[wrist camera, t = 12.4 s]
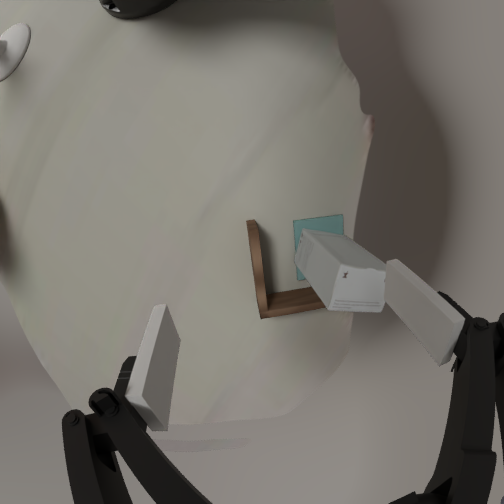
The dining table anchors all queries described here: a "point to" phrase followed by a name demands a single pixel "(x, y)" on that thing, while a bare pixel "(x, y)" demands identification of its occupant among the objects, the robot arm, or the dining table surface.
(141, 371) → the robot arm
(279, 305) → the wooden corner bracket
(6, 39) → the candlestick
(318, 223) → the pad
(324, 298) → the skincare box
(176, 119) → the dining table surface
